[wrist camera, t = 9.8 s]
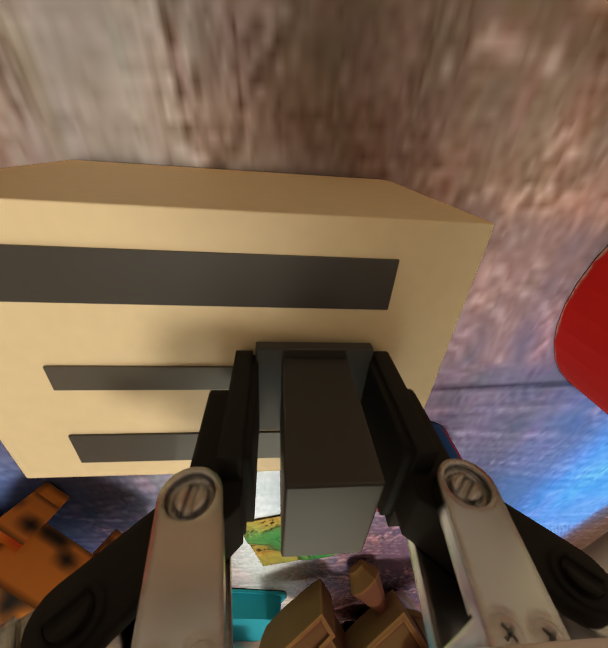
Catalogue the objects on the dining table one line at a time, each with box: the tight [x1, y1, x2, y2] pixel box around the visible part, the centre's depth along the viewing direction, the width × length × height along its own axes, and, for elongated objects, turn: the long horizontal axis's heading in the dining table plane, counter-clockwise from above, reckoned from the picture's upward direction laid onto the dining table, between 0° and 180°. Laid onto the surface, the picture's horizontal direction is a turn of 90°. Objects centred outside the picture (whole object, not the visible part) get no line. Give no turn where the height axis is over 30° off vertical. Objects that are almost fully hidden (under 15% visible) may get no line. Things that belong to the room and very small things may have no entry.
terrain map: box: [244, 516, 336, 566], centre depth 38 cm, size 12×12×1 cm
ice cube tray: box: [232, 589, 286, 641], centre depth 45 cm, size 12×20×3 cm, turn 68°
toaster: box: [0, 160, 495, 478], centre depth 15 cm, size 16×11×10 cm
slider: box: [255, 342, 385, 557], centre depth 8 cm, size 4×4×4 cm
